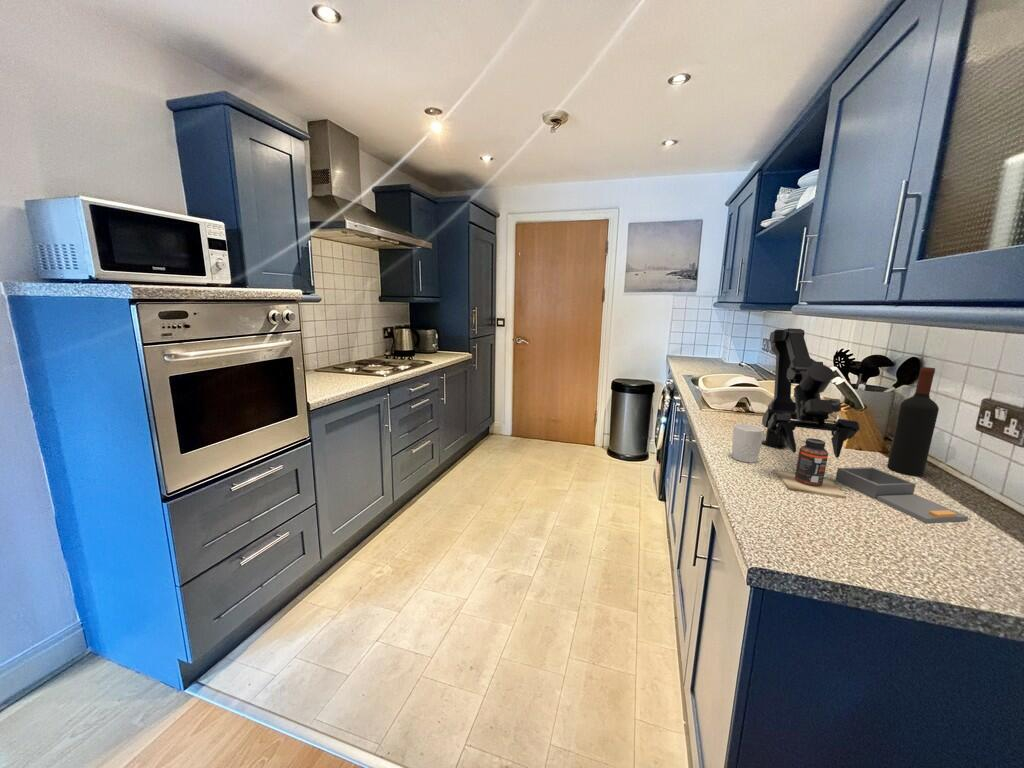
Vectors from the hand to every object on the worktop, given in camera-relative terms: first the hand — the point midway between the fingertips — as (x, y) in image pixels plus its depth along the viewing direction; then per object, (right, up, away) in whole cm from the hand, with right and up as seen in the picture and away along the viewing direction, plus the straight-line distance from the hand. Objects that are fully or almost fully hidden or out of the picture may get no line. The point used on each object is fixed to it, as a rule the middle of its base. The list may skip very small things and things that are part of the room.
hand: (815, 454), depth 102 cm
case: (+16, -10, -4) cm, 20 cm away
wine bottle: (+36, -7, +14) cm, 39 cm away
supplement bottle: (0, -8, +3) cm, 8 cm away
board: (0, -8, +3) cm, 9 cm away
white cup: (-7, -5, +20) cm, 22 cm away
